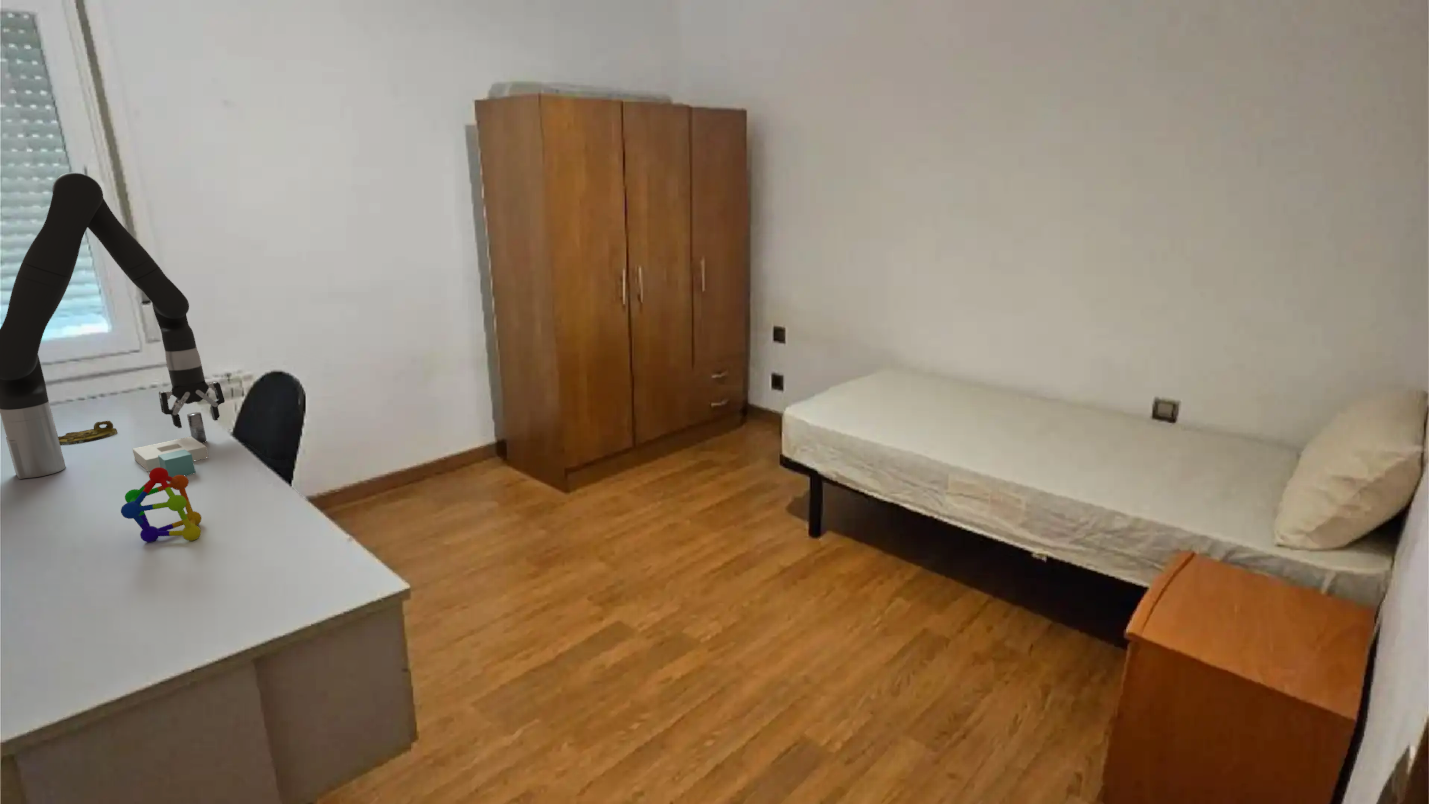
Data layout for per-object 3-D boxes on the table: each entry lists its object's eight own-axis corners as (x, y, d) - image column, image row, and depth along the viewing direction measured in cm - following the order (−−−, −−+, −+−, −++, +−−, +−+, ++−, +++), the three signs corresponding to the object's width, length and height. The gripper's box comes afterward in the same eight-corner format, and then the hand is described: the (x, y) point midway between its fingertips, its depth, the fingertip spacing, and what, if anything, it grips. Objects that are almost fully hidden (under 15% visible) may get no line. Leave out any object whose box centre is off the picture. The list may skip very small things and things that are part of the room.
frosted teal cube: (168, 480, 186) (164, 460, 185) (162, 474, 190) (157, 455, 188) (195, 473, 190) (191, 454, 189) (188, 468, 194) (184, 449, 192)
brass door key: (52, 453, 211) (120, 439, 220) (47, 436, 209) (116, 424, 219) (49, 441, 217) (115, 429, 227) (44, 425, 215) (111, 414, 225)
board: (148, 471, 192) (145, 460, 191) (135, 459, 200) (132, 448, 199) (208, 457, 201) (206, 446, 200) (193, 447, 209) (191, 436, 208)
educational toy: (125, 542, 156) (107, 470, 153) (200, 523, 164) (185, 454, 161) (134, 561, 144) (116, 484, 141) (215, 540, 153) (199, 466, 150)
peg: (195, 444, 211) (189, 416, 209) (191, 442, 213) (185, 414, 211) (208, 441, 214) (202, 413, 211) (204, 439, 215) (198, 411, 213)
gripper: (156, 373, 200) (171, 433, 205) (219, 362, 210) (231, 419, 215) (149, 368, 205) (163, 427, 210) (210, 358, 215) (222, 415, 220)
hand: (197, 423), depth 212 cm, fingers open, 8 cm apart
